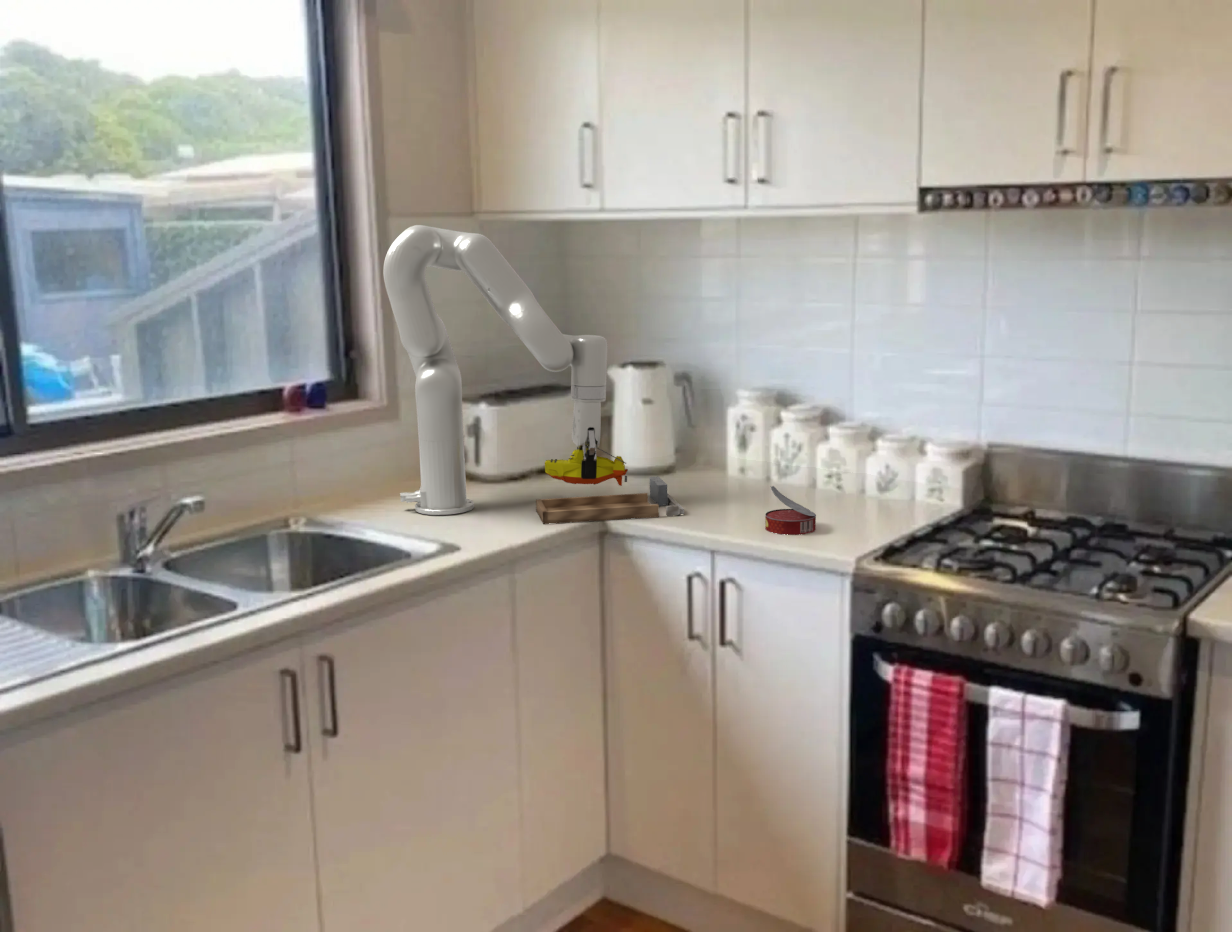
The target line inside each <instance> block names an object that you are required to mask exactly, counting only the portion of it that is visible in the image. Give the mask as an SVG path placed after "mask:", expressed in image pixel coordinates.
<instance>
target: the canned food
mask: <svg viewBox="0 0 1232 932" xmlns="http://www.w3.org/2000/svg"><path fill="white" fill-rule="evenodd" d="M770 490H771V491H772V494H774V496H775V497H776V498H777V499H778V500H779V501H780V502H781V503H782V504H783V505H785V506H786V507H788V508H779V509H778V508H777V509H772V510H769V511H767V512H766V513H765V515H764V517H765V519H764V520H765V521H764V522H765V523H764V524H765V527H764V528H765V530H766V531H767V532H769V533H771V532H773V533H772V534H775V533H777V535H782V534H785V536H800V535H801V534H802V535H806V534H811V533H813V532H815V531H816V528H817V527H816V526H817V525H816V524H817V523H816V522H817V521H816V520H817V519H816V518H817V514H816V512H813V511H812V510H811V509H809V508H806V507H805V506H803V505H801V504H800V503H797V502H796V501H793V500H792V499H791V498H789V497H787V496H786V495H784V494H783V493H781V492H780V491H779V490H778V489H777V488H776V487H775V486H774V485H772V486H770ZM787 534H788V535H787ZM799 534H800V535H799Z"/></svg>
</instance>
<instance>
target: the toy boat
mask: <svg viewBox="0 0 1232 932" xmlns="http://www.w3.org/2000/svg"><path fill="white" fill-rule="evenodd" d="M596 450H600V451H601V452H602V453H605V454H607V455H609V456H610V457H612V458H614V460H611V459H609V458H608V457H603V456H598V455H596V460H597V469H596V478H595V479H582V478H581V463H582V460H583V445H581V447H580V449H578V447H577V446H576V449H574V450H573V451H572V452H571V455H570V456H569V458H568V459H566V460H565V459H558V458H555V459H553V458H551V459H545V461H544V472H545V474H546V475H548V476H550V477H551V478H552V479H556V480H558V481H563V482H565V483H566V484H573V485H578V484H579V485H599V484H600V483H603V482H605V481H607V480H608V481H609V480H611V479H615V480H616V482H617V484H618V486H620V487H622V486H623V481H624V483H628V475H626V474H627V472H628V468H626V464H627V462H626V461H624V459H623V458H622V456H621V455H616V456H614V455H613V454H610V453H609V452H607V451H605V450H603V449H601V448H599V447H596ZM586 451H587V450H586ZM623 476H624V480H623Z"/></svg>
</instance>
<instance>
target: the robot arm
mask: <svg viewBox="0 0 1232 932" xmlns="http://www.w3.org/2000/svg"><path fill="white" fill-rule="evenodd" d="M386 252H387V253H386V255H385V258H384V262H383V268H382V269H383V271H382V272H383V273H382V274H383V282H384V287H385V291H386V294H387V297H388V300H389V304H390V307H391V310H392V313H393V316H394V320H395V323H396V327H397V330H398V332H399V337H400V339H399V340H400V342H401V345H402V347H403V349H404V350H406V352H407V354H408V357H409V361H410V363H411V366H412V369H413V372H414V375H415V378H416V379H415V386H414V387H415V388H414V395H415V406H416V418H417V433H418V435H417V436H418V448H419V449H418V451H419V468H420V469H419V471H420V487H419V490H418V489H417V490H415V491H414V492H409V491H408V492H407V491H406V492H400V493H399V494H400V495H399V496H400V503H401V502H403V503H404V502H405V503H407V504H408V503H415V504H414V510H415V511H416V512H417V513H419V514H423V515H429V516H430V515H431V516H449V515H456V514H461V513H466V512H470V511H472V510H473V509H474V507H475V502H474V500H472V499H470V498H467V483H466V482H467V479H466V477H467V476H466V461H465V459H466V458H465V455H466V454H465V438H464V437H465V435H464V422H463V421H464V418H463V388H462V387H463V385H462V383H463V382H462V381H463V380H462V373H461V370H460V367H459V365H458V361H457V358H456V355H455V353H454V349H453V346H452V342H451V340H450V336H449V334H448V331H447V330H448V329H447V328H446V325H445V323H444V321H443V320H442V318H441V317H440V316H439V314H438V313H437V310H436V308H435V304H434V302H433V299H432V296H431V291H430V288H429V286H428V282H427V277H426V271H427V268H428V267H429V268H436V269H442V270H448V271H454V272H462V273H464V275H465V276H466V277H467V278H468V279H469V281H470V282H471V284H472V285H474V286H475V288H476V289H477V291H478V292H479V293H480V294H481V295H482V296H483V298H484V299H485V300H486V301H487V303H488V304H489V305H490V307H491V308H492V310H494V311H495V312H496V314H497V315H498V316H499V318H500V319H501V321H503V322H505V324H507V326H508V327H510V328H511V330H512V331H513V332H514V333H515V335H516V336H517V337H518V338H519V340H520V341H521V342H522V343H523V344H524V345H525V347H526V348H527V350H528V351H529V352H530V353H531V355H532V356H534V358H535V359H536V361H538V363H539V365H541V366H542V368H543V369H545V371H546V370H547V371H549V372H553V373H558V372H559V373H560V372H563V371H564V370H566V369H567V368H569V367H571V371H570V372H571V373H570V374H571V379H570V386H571V387H570V401H573V402H574V403H573V412H572V426H571V427H572V428H571V441H572V442H573V444H574V445H575V446H576V448H577V447H578V449H580V447H581V445H583V460H582V463H581V478H582V479H595V478H596V469H597V460H596V456H597V448H599V447H600V443H601V427H602V425H601V421H602V420H601V419H602V418H601V417H602V416H601V414H602V409H601V408H602V407H601V406H602V404H601V403H602V402H606V401H607V400H606V398H607V372H608V371H607V370H608V369H607V368H608V367H607V366H608V364H607V363H608V340H607V338H605V337H604V336H602V335H598V334H596V335H595V334H579V335H571V334H566V333H565V334H564V333H562V332H561V331H560V329H559V328H558V327H557V325H556V324H555V323H554V322H553V320H552V319H551V318H550V317H549V315H548V314H547V313H546V311H545V310H544V309H543V307H541V305H540V303H539V302H538V300H537V299H536V297H535V296H534V294H533V292H532V291H531V289H530V288H529V287H528V285H527V283H525V281H523V278H521V277H520V276H519V274H518V273H517V272H516V271H515V269H514V268H513V267H512V266H511V264H510V263H509V261H508V260H507V259H506V258H505V257H504V256H503V254H502V253H501V252H500V251H499V249H498V248H497V247H496V246H495V244H494V243H493V242H492V241H491V239H489V238H488V237H487V236H486V235H484V234H481V233H477V232H475V233H474V232H465V231H458V230H457V231H456V230H452V229H448V228H447V229H445V228H439V227H435V226H428V225H423V224H415V225H411V226H409V227H408V228H406V229H405V230H403V231H402V232H401V233H400V234H399V235H398V236H397V237H396V238H395V240H394V241H392V243H391V244H390V247H389V248H388V250H387V251H386ZM596 447H597V448H596ZM586 450H587V451H586Z"/></svg>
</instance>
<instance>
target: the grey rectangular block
mask: <svg viewBox="0 0 1232 932" xmlns="http://www.w3.org/2000/svg"><path fill="white" fill-rule="evenodd" d="M668 494H669V493H668V484H667V483H666V481H664V480H663V479H662V478H661V477H660V476H649V498H651V500H653V502H654V503H655V504H658V505H659V507H660V506H662V507H663V506H669V505H668V504H669V503H668Z"/></svg>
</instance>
